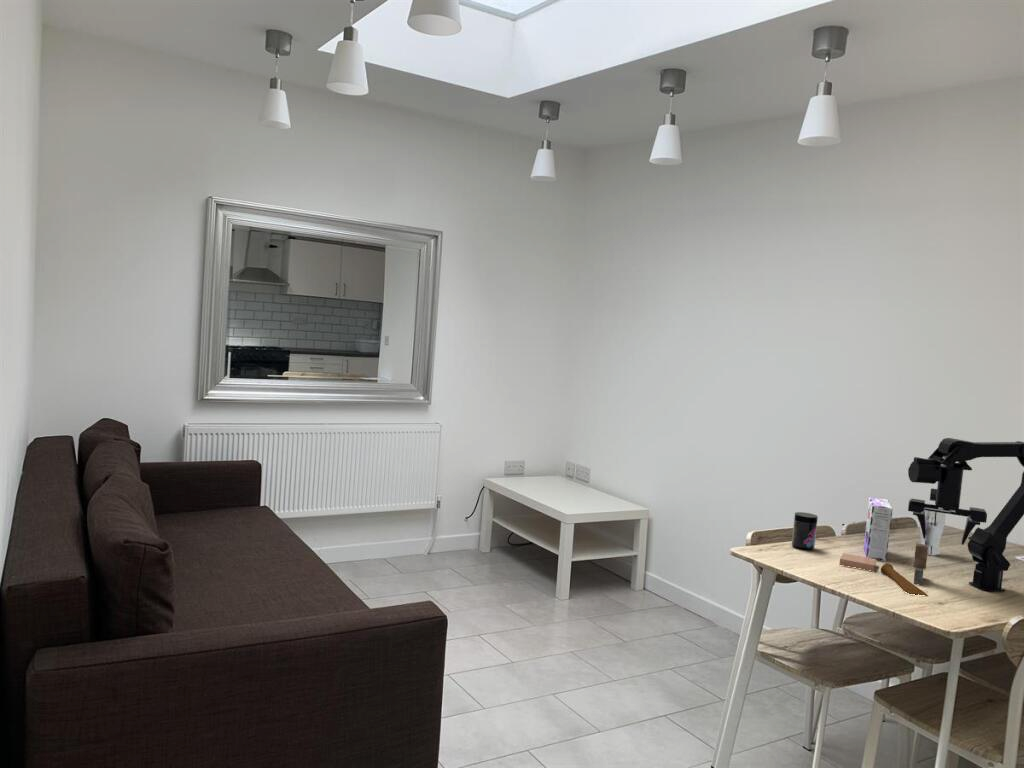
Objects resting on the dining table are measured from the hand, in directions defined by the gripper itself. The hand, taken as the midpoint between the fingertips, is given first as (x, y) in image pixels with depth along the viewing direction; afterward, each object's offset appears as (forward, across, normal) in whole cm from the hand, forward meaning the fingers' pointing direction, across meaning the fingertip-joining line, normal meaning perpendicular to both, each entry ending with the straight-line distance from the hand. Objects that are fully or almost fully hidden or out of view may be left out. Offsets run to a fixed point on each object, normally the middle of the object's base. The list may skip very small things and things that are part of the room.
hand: (943, 541), depth 221 cm
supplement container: (+12, +37, -13) cm, 41 cm away
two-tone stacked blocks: (+12, +5, 0) cm, 13 cm away
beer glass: (+12, +2, -37) cm, 39 cm away
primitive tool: (+13, +8, +8) cm, 17 cm away
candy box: (+12, +17, -22) cm, 31 cm away
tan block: (+11, +16, -4) cm, 20 cm away
